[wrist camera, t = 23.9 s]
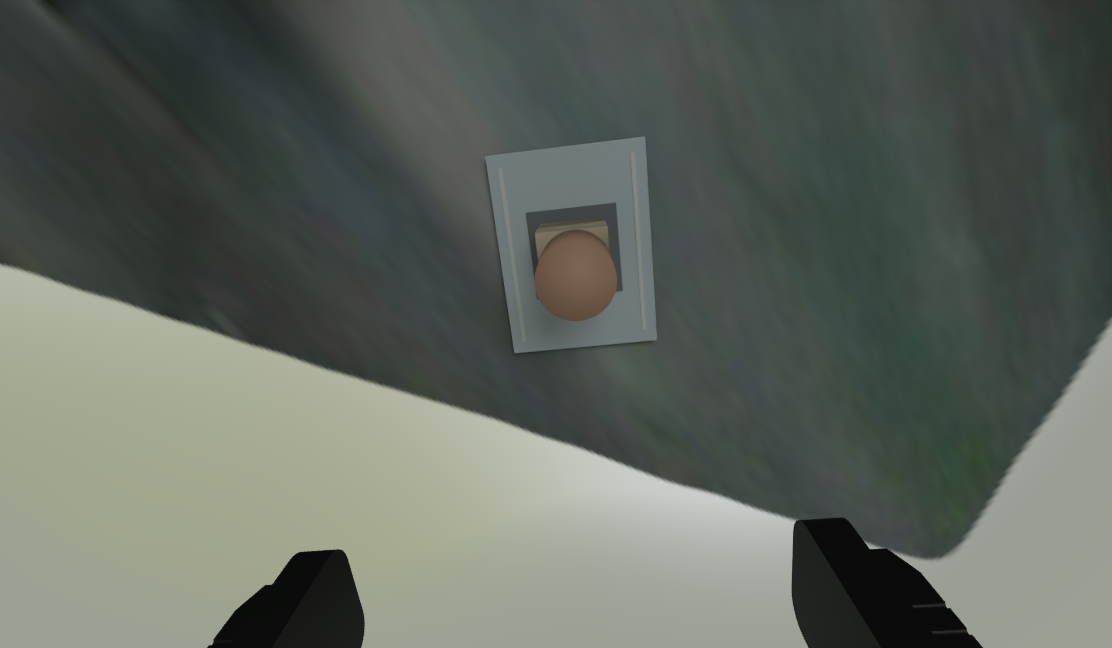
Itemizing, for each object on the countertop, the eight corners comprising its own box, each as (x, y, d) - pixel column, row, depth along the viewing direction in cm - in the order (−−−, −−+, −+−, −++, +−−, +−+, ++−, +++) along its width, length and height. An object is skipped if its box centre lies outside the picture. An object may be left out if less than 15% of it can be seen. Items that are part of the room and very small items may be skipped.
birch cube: (539, 224, 40) (534, 233, 35) (603, 217, 40) (607, 225, 35) (546, 286, 41) (542, 302, 37) (608, 280, 41) (612, 296, 36)
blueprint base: (487, 156, 40) (484, 156, 39) (643, 136, 39) (645, 136, 38) (515, 349, 44) (514, 353, 43) (655, 336, 44) (657, 340, 43)
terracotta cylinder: (535, 233, 35) (529, 245, 30) (608, 225, 35) (613, 235, 30) (544, 303, 37) (539, 324, 32) (614, 296, 36) (620, 316, 32)
